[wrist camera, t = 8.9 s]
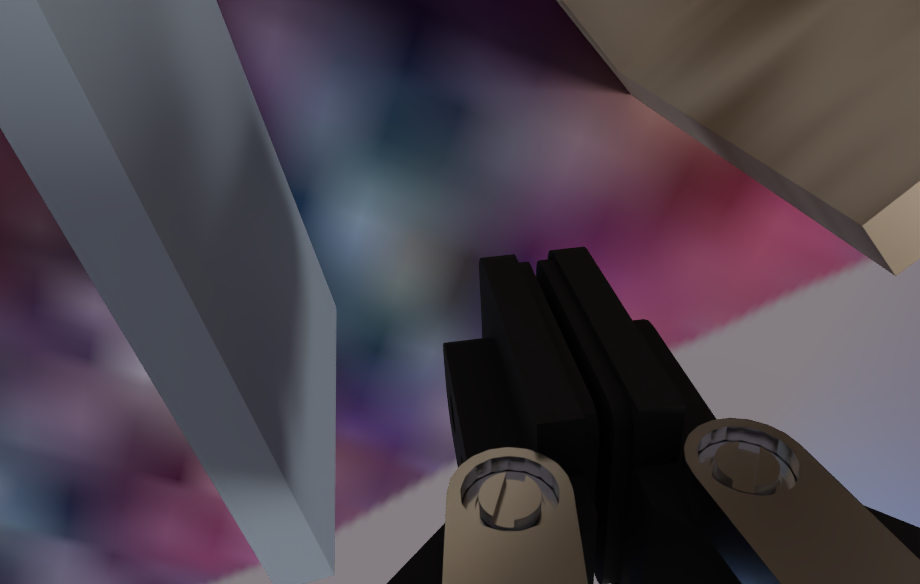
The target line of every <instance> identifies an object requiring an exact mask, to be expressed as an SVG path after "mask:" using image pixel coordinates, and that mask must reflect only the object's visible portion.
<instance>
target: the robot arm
mask: <svg viewBox="0 0 920 584" xmlns="http://www.w3.org/2000/svg"><path fill="white" fill-rule="evenodd" d="M479 275H480V296H481V317H482V338H481V339H473V340H465V341H456V342H448V343H444V344H443V352H444V365H445V377H446V389H447V398H448V407H449V415H450V422H451V429H452V436H453V442H454V447H455V453H456V459H457V465H458V469H457V470H456V472H455V473H454V474H453V476H452V477H451V479H450V482H449V486H448V490H447V499H446V518H445V519H446V520H445V524H444V525H443V526H442V527H441V528H440V529H439V530H438V531H437V532H436V533H435V534H434V535H433V536H432V537H431V538H430V539H429V540H428V541H427V542H426V543H425V544H424V545H423V546H422V547H421V549H420V550H419V551H418V552H417V553H416V554H415V555H414V556H413V557H412V558H411V559H410V560H409V561H408V562H407V563H406V564H405V565H404V566H403V567H402V568H401V569H400V570H399V571H398V573H397V574H396V575H395V576H394V577H393V578H392V579H391V580H390V581H389V582H388V583H387V584H593V581H594V574H595V576H596V578H597V581H598V582H599V584H609V583H611V584H920V528H919V527H916V526H914V525H911V524H909V523H906V522H904V521H901V520H899V519H896V518H894V517H891V516H889V515H886V514H884V513H881V512H879V511H876V510H874V509H871V508H869V507H866V506H864V505H862V504H861V503H860V502H859V501H858V500H857V499H856V498H855V497H854V496H853V495H852V494H851V493H850V492H849V491H848V490H847V489H846V488H845V487H844V486H843V485H842V484H841V483H840V482H839V481H838V480H837V479H835V477H833V476H832V475H831V474H830V473H829V472H828V471H827V470H826V469H825V468H824V467H823V466H822V465H821V464H820V463H819V462H818V461H817V460H816V459H815V458H814V457H813V456H812V455H811V454H810V453H808V451H807V450H806V449H804V448H803V447H802V446H801V445H800V444H799V443H798V442H796V441H795V440H794V439H792V438H791V437H790V436H788V435H787V434H786V433H784V432H782V431H779V430H778V429H775V428H773V427H771V426H769V425H767V424H763V423H759V422H756V421H752V420H748V419H736V418H726V419H716V418H715V416H714V415H713V413H712V412H711V410H710V409H709V408H708V406H707V405H706V403H705V402H704V400H703V399H702V397H701V396H700V394H699V393H698V391H697V390H696V389H695V387H694V385H693V384H692V382H691V381H690V379H689V378H688V377H687V375H686V374H685V372H684V371H683V369H682V368H681V366H680V365H679V363H678V362H677V360H676V359H675V357H674V356H673V354H672V353H671V351H670V350H669V348H668V347H667V346H666V344H665V343H664V341H663V340H662V338H661V337H660V335H659V334H658V332H657V331H656V329H655V328H654V326H653V325H652V324H651V323H650V322H649V321H648V320H644V319H642V320H633V321H632V319H631V318H630V316H629V314H628V313H627V311H626V310H625V308H624V307H623V305H622V303H621V302H620V300H619V299H618V297H617V296H616V294H615V292H614V291H613V289H612V288H611V286H610V285H609V283H608V281H607V280H606V278H605V277H604V275H603V274H602V272H601V270H600V269H599V267H598V266H597V264H596V263H595V261H594V259H593V258H592V256H591V255H590V253H589V252H588V250H587V249H586V248H585V247H577V248H568V249H559V250H550V251H549V253H548V260H540V261H538V262H537V268H536V276H535V274H534V272H533V270H532V267H531V265H530V263H529V262H522V263H518V260H517V258H516V256H515V255H514V254H513V255H504V256H495V257H485V258H480V261H479Z"/></svg>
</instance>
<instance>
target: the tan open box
mask: <svg viewBox="0 0 920 584" xmlns="http://www.w3.org/2000/svg"><path fill="white" fill-rule="evenodd" d="M556 1H557V2H558V3H559V5H560V6H561V7H562V8H563V10H564V11H565V12H566V13H567V15H568V16H569V17H570V18H571V20H572V21H573V22H574V23H575V25H576V26H577V27H578V28H579V30H580V31H581V32H582V33H583V35H584V36H585V37H586V38H587V40H588V41H589V42H590V43H591V45H592V46H593V47H594V48H595V50H596V51H597V52H598V53H599V55H600V56H601V57H602V59H603V60H604V61H605V62H606V64H607V65H608V66H609V67H610V69H611V70H612V71H613V72H614V74H615V75H616V76H617V77H618V79H619V80H620V81H621V82H622V84H623V85H624V86H625V87H626V89H627V90H628V91H629V92H630V94H631V95H632V96H633V97H635V98H636V99H638V100H639V101H641V102H642V103H644V104H645V105H647V106H648V107H649V108H651V109H652V110H654V111H655V112H657V113H658V114H660V115H661V116H663V117H664V118H666V119H667V120H668V121H670V122H671V123H673V124H674V125H676V126H677V127H679V128H680V129H682V130H683V131H685V132H686V133H687V134H689V135H690V136H692V137H693V138H695V139H696V140H698V141H699V142H701V143H702V144H703V145H705V146H706V147H708V148H709V149H711V150H712V151H714V152H715V153H717V154H718V155H720V156H721V157H722V158H724V159H725V160H727V161H728V162H730V163H731V164H733V165H734V166H736V167H737V168H739V169H740V170H741V171H743V172H744V173H746V174H747V175H749V176H750V177H752V178H753V179H755V180H756V181H758V182H759V183H760V184H762V185H763V186H765V187H766V188H768V189H769V190H771V191H772V192H774V193H775V194H777V195H778V196H779V197H781V198H782V199H784V200H785V201H787V202H788V203H790V204H791V205H793V206H794V207H795V208H797V209H798V210H800V211H801V212H803V213H804V214H806V215H807V216H809V217H810V218H812V219H813V220H814V221H816V222H817V223H819V224H820V225H822V226H823V227H825V228H826V229H828V230H829V231H831V232H832V233H833V234H835V235H836V236H838V237H839V238H841V239H842V240H844V241H845V242H847V243H848V244H850V245H851V246H852V247H854V248H855V249H857V250H858V251H860V252H861V253H863V254H864V255H866V256H867V257H869V258H870V259H871V260H873V261H874V262H876V263H877V264H879V265H880V266H882V267H883V268H885V269H886V270H888V271H889V272H890V273H892V274H893V275H895V276H897V275H898V274H899V273H901V272H902V271H903V270H904V269H906V268H907V267H909V266H910V265H911V264H913V263H914V262H915V261H917V260H918V259H919V258H920V0H556Z"/></svg>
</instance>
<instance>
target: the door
mask: <svg viewBox="0 0 920 584" xmlns="http://www.w3.org/2000/svg"><path fill="white" fill-rule="evenodd" d="M0 128H1V130H2V132H3V133H4V135H5V137H6V138H7V140H8V142H9V143H10V145H11V147H12V148H13V150H14V152H15V153H16V155H17V157H18V158H19V160H20V162H21V163H22V165H23V167H24V168H25V170H26V172H27V173H28V175H29V177H30V178H31V180H32V182H33V183H34V185H35V187H36V188H37V190H38V192H39V193H40V195H41V197H42V198H43V200H44V202H45V204H46V205H47V207H48V209H49V210H50V212H51V214H52V215H53V217H54V219H55V220H56V222H57V224H58V225H59V227H60V229H61V230H62V232H63V234H64V235H65V237H66V239H67V240H68V242H69V244H70V245H71V247H72V249H73V250H74V252H75V254H76V255H77V257H78V259H79V260H80V262H81V264H82V265H83V267H84V269H85V270H86V272H87V274H88V275H89V277H90V279H91V280H92V282H93V284H94V285H95V287H96V289H97V290H98V292H99V294H100V295H101V297H102V299H103V300H104V302H105V304H106V305H107V307H108V309H109V310H110V312H111V314H112V315H113V317H114V319H115V320H116V322H117V324H118V325H119V327H120V329H121V330H122V332H123V334H124V335H125V337H126V339H127V340H128V342H129V344H130V345H131V347H132V349H133V350H134V352H135V354H136V355H137V357H138V359H139V360H140V362H141V364H142V366H143V367H144V369H145V371H146V372H147V374H148V376H149V377H150V379H151V381H152V382H153V384H154V386H155V387H156V389H157V391H158V392H159V394H160V396H161V397H162V399H163V401H164V402H165V404H166V406H167V407H168V409H169V411H170V412H171V414H172V416H173V417H174V419H175V421H176V422H177V424H178V426H179V427H180V429H181V431H182V432H183V434H184V436H185V437H186V439H187V441H188V442H189V444H190V446H191V447H192V449H193V451H194V452H195V454H196V456H197V457H198V459H199V461H200V462H201V464H202V466H203V467H204V469H205V471H206V472H207V474H208V476H209V477H210V479H211V481H212V482H213V484H214V486H215V487H216V489H217V491H218V492H219V494H220V496H221V497H222V499H223V501H224V502H225V504H226V506H227V507H228V509H229V511H230V512H231V514H232V516H233V517H234V519H235V521H236V522H237V524H238V526H239V527H240V529H241V531H242V533H243V534H244V536H245V538H246V539H247V541H248V543H249V544H250V546H251V548H252V549H253V551H254V553H255V554H256V556H257V558H258V559H259V561H260V563H261V564H262V566H263V568H264V569H265V571H266V573H267V574H268V576H269V577H270V579H271V581H272V583H273V584H305V583H308V582H311V581H315V580H318V579H322V578H326V577H329V576H332V575H334V563H335V559H334V558H335V557H334V556H335V555H334V554H335V551H334V550H335V421H336V306H335V303H334V301H333V298H332V295H331V293H330V290H329V288H328V285H327V283H326V280H325V278H324V275H323V272H322V270H321V267H320V265H319V262H318V260H317V257H316V255H315V252H314V249H313V247H312V244H311V242H310V239H309V237H308V234H307V231H306V229H305V226H304V224H303V221H302V219H301V216H300V214H299V211H298V208H297V206H296V203H295V201H294V198H293V196H292V193H291V191H290V188H289V185H288V183H287V180H286V178H285V175H284V173H283V170H282V167H281V165H280V162H279V160H278V157H277V155H276V152H275V150H274V147H273V144H272V142H271V139H270V137H269V134H268V132H267V129H266V127H265V124H264V121H263V119H262V116H261V114H260V111H259V109H258V106H257V103H256V101H255V98H254V96H253V93H252V91H251V88H250V86H249V83H248V80H247V78H246V75H245V73H244V70H243V68H242V65H241V63H240V60H239V57H238V55H237V52H236V50H235V47H234V45H233V42H232V39H231V37H230V34H229V32H228V29H227V27H226V24H225V22H224V19H223V16H222V14H221V11H220V9H219V6H218V4H217V1H216V0H0Z"/></svg>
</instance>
